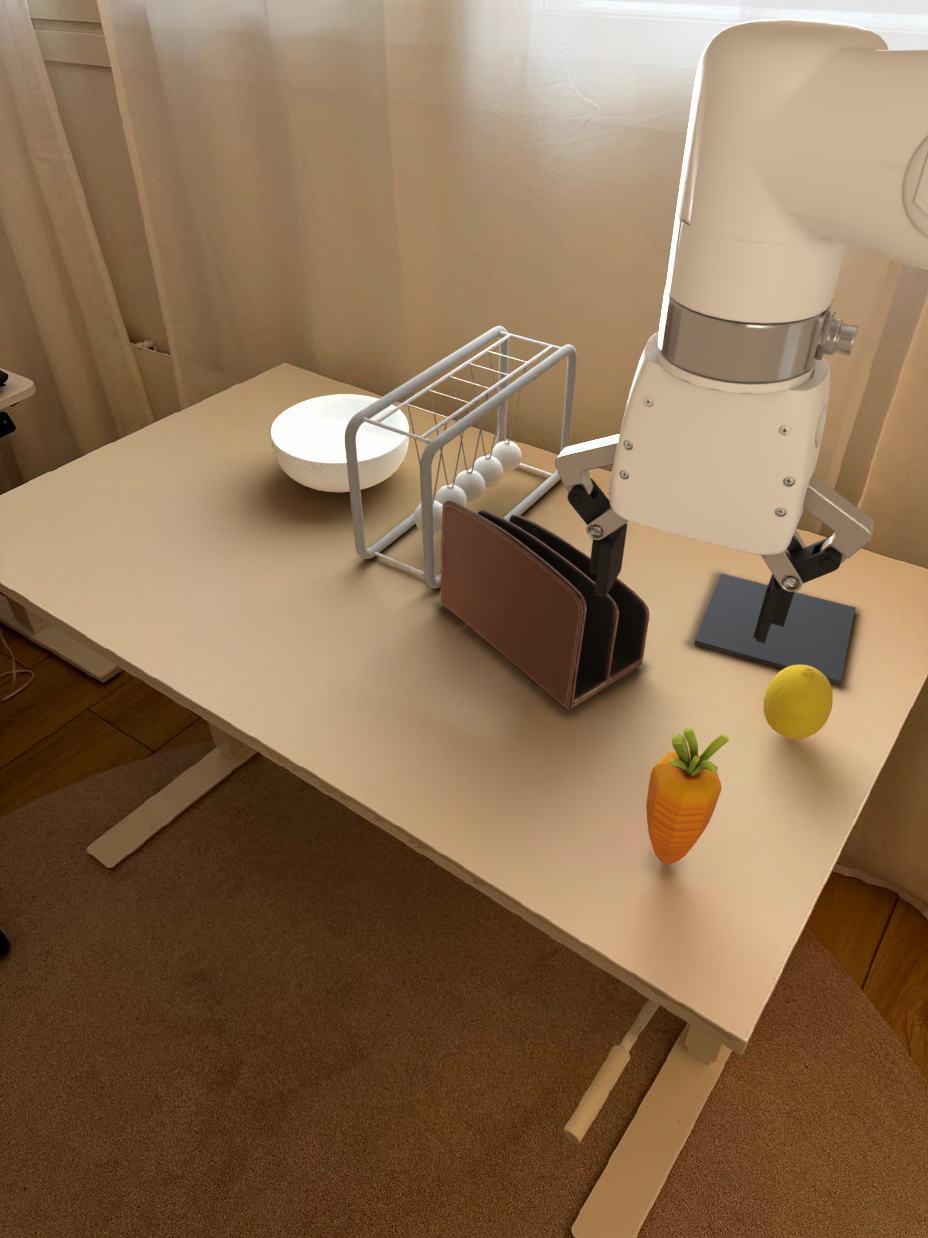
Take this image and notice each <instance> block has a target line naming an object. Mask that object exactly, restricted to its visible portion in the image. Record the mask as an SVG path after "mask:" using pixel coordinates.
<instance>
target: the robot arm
mask: <svg viewBox="0 0 928 1238" xmlns="http://www.w3.org/2000/svg"><path fill="white" fill-rule="evenodd" d="M695 74H696V75H695V80H694V85H693V91H692V97H691V98H692V99H691V105H690V112H689V119H688V120H689V121H688V125H687V126H688V127H687V133H686V140H685V147H684V154H683V160H682V168H681V174H680V175H681V176H680V181H679V190H678V195H677V203H676V210H675V217H674V218H675V219H674V224H673V232H672V240H671V247H670V254H669V259H668V260H669V261H668V269H667V274H666V284H665V288H664V293H663V301H662V308H661V315H660V321H659V329H658V331H657V332H655V333H653V334H652V335H651V336H650V337H649V338H648V340H647V343H646V345H645V347H643V348H644V349H643V351H642V353H641V356H640V358H639V362H638V364H637V366H636V367H637V368H636V371H635V374H634V377H633V380H632V383H631V387H630V390H629V392H628V393H629V394H628V398H627V401H626V405H625V409H624V413H623V418H622V421H621V426H620V430H619V433H618V434H614V435H610V436H607V437H606V436H605V437H602V438H599V439H594V440H590V441H586V442H581V443H577V444H573V445H570V446H569V447H566V448H564V449H563V451H562V452H561V451H560V452H561V453H560V452H559V454H558V456H557V457H556V458H555V460H554V467H555V468H556V470H557V471H558V473H559V476H560V478H561V479H560V481H561V482H562V485H563V488H565V489H566V491H567V501H568V504H570V506H571V507H572V508H573V510H574V511H575V512H576V513H577V514H578V516H579V517H580V518H581V520H582V521H583V522H584V523H585V524H586V525H587V526H586V527H585V529H586V530H585V531H586V534H587V535H588V537H589V538H590V539H592V541H591V551H590V558H591V560H590V569H589V571H590V573H594V574H596V583H595V591H594V594H595V595H599V596H602V597H603V596H604V595H607V594H608V592H609V591H610V589H611V587H612V585H613V584H614V582H615V580H616V578H618V577H619V575H620V573H621V570H622V567H623V559H624V554H625V553H624V552H625V546H626V538H627V530H628V523H629V522H630V523H632V524H635V525H638V526H641V527H645V528H647V529H653V530H656V531H659V532H660V531H661V532H665V533H668V534H672V535H675V536H679V537H683V538H686V539H691V540H695V541H699V542H703V543H706V544H710V545H715V546H718V547H722V548H726V549H730V550H735V551H737V552H742V553H746V554H750V555H757V556H758V555H759V556H761V558H762V559H763V561H764V562H765V565H766V567H768V569H769V570H770V572H771V576H770V579H769V581H768V583H767V585H768V587H767V590H766V593H765V596H764V600H763V604H762V607H761V611H760V614H759V618H758V622H757V625H756V629H755V632H754V636H753V638H756V641H758V642H761V643H764V644H765V641H766V638H767V636H768V633H769V630H770V627H771V624H775V625H778V626H782V627H784V624H785V621H786V618H787V615H788V612H789V608H790V605H791V602H792V598H793V595H794V592H798V591H799V590H801V588H802V587H803V584H806V583H808V582H811V581H814V580H815V579H818V578H821V577H823V576H826V575H828V574H831V573H833V572H836V571H837V570H838V569H839V568H840V566H841V564H843V563H844V562H845V561H846V560H847V559H850V558H851V557H853V556H854V555H855V554H857V552H858V551H860V550H861V549H862V548H864V547H865V546H866V545H867V544H868V543H870V542H871V540H872V536H873V533H874V529H875V521H874V519H873V518H872V517H871V516H869V515H868V514H866V513H865V512H864V511H863V510H861V509H860V508H859V507H858V506H857V505H855V504H854V503H853V502H851V501H849V500H848V499H846V497H844V496H843V495H841V494H840V493H839V492H837V491H836V490H834V489H833V488H832V487H831V486H830V485H828V484H827V483H825V482H824V481H823V480H822V479H820V478H819V477H817V476H816V475H815V472H816V467H817V463H818V460H819V459H818V458H819V454H820V450H821V445H822V441H823V437H824V436H823V435H824V431H825V427H826V426H825V425H826V420H827V415H828V408H829V407H828V406H829V398H830V389H831V388H830V387H831V365H830V362H829V361H828V360H827V359H826V358H825V357H824V355H826V356H833V355H834V354H840V355H845V356H851V354H852V351H853V349H854V345H855V342H856V339H857V336H858V331H859V328H860V326H859V325H857V324H850V323H843V322H844V320H843V319H839V318H836V313H837V312H836V311H832V310H831V309H832V306H833V303H834V294H835V290H836V286H837V283H838V278H839V275H840V271H841V268H842V264H843V260H844V256H845V253H846V249H847V246H850V247H852V248H856V249H858V250H862V251H864V252H868V253H870V254H873V255H876V256H879V257H882V258H885V259H887V260H890V261H894V262H896V263H900V264H903V265H906V266H909V267H913V268H917V269H921V270H927V271H928V49H913V50H912V49H911V50H905V49H903V50H890V49H889V47H888V44H887V42H886V41H885V40H884V39H883V38H882V36H881V35H879V34H878V33H877V32H874V31H872V30H870V29H869V28H866V27H863V26H860V25H855V24H851V23H845V22H839V21H832V20H823V19H812V18H811V19H810V18H809V19H808V18H769V19H759V20H750V21H743V22H738V23H736V24H733V25H730V26H727V27H726V28H722V30H720V31H719V32H718V33H717V34H715V35H714V36H713V37H712V38H711V40H710V41H709V42H708V44H707V45H706V46H705V48H704V49H703V52H702V54H701V56H700V59H699V62H698V64H697V70H696V73H695ZM609 466H612V468H611V474H610V480H609V492H608V497H607V495H606V494H605V493H604V492H603V490H602V489H601V488H600V487H599V485H598V484H597V482H596V481H595V480H594V479H593V478H592V477H590V470H595V469H599V468H605V467H609ZM804 511H806V512H807V513H809V514H810V515H811V516H812V517H814V518H815V519H817V520H818V521H819V522H821V523H822V524H823V525H825V526H826V527H827V528H829V529H830V530H831V531H832V532H833V533H832V535H830V536H828V537H826V538H823V539H821V540H819V541H816V542H814V543H812V544H809V545H806V543H805V541H804V540H803V538H802V536H801V535H800V534H799V532H798V530H797V527H798V525H799V522H800V519H801V518H802V516H803V514H804Z"/></svg>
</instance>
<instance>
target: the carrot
mask: <svg viewBox="0 0 928 1238" xmlns="http://www.w3.org/2000/svg"><path fill="white" fill-rule="evenodd" d="M682 732H683V734H680V733H677V734H673V735H672V738H671V745H672V747H673V750H674V751H667V752H666V753H665V754H664V755H663V756H662V758H661V759H660V760H659V761H658V762H657V763H656V764H655V765H653V767H652V769H651V772H650V775H649V782H648V787H647V788H648V789H647V795H646V804H645V807H646V823H647V831H648V836H649V840H650V843H651V847H652V850H653V852H654V855H655V856H656V857H657V859H658V860H659V861H660V863H662V864H664V865H672V864H674V863H677V862H679V861H680V860H682V859H683V858H685V856H687V854H688V853H689V852H690V851H691V849H692V848H693V847H694V846H695V844H696V843H697V842H698V841H699V839H700V838H701V836H702V835H703V834H704V832H705V830H706V828H707V827H708V825H709V823H710V822H711V819H712V816H713V814H714V812H715V809H716V806H717V804H718V801H719V798H720V794H721V792H722V781H721V780H720V777H719V774H718V769H719V767H718V766H717V765H716V763H714V762H712V761H711V760H709V759H710V758H711V757H712V756H713V755H715V754H716V753H717V751H719V750H720V749H721V748H722V747H724V746H725V745H726V744H727V743H728V742H729V741H730V738H729V737H728V736H727V735H726V734H724V733H722V734H721V735H718V736H717V737H716V738H715V739H714V740H713V741H711V742H710V744H709V745H708V746H707V747H706V748H705V750H704V751H703V752H702V753H701V754H699V743H698V739H697V737H696V735H695V733H694V730H693V728H692V727H685V728H683V729H682Z"/></svg>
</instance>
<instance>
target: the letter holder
mask: <svg viewBox="0 0 928 1238" xmlns="http://www.w3.org/2000/svg"><path fill="white" fill-rule="evenodd" d="M442 510H443V511H442V530H441V541H440V573H441V587H440V594H439V595H440V596H439V598H440V599H439V600H440V604H441V605H442V606H443V607H444V608H446V609H447V610H448V611H450V613H452V614H453V615H454V616H456V617H457V618H458V619H459V620H461V621H462V622H463V623H464V624H466V626H468V628H470V629H471V630H473V631H474V632H475V633H476V634H477V635H478V636H480V637H481V638H482V639H483V640H484V641H485V642H487V643H488V644H489V645H490V646H491V647H492V648H494V650H496V651H497V652H498V653H500V655H502V656H503V657H504V658H505V659H507V660H508V661H509V662H510V663H511V664H512V665H514V667H516V668H517V669H519V670H520V671H521V672H522V673H523V674H524V675H526V676H527V678H529V679H531V680H532V681H533V682H534V683H535V684H536V685H538V686H539V687H540V688H541V689H542V690H543V691H544V692H546V693H547V694H548V695H550V696H551V697H552V698H553V699H554V700H556V701H557V702H558V703H559V704H560V705H561V706H562V707H563V708H565V709H566V711H568V712H571V710H573V709H574V708H575V707H577V706H579V705H580V704H582V703H584V702H586V701H587V700H588V699H590V698H592V697H593V696H595V695H596V694H598V693H600V692H601V691H603V690H605V689H606V688H608V687H609V686H611V685H612V684H614V683H616V682H617V681H619V680H621V679H622V678H624V677H626V676H627V675H629V674H630V673H632V672H633V671H635V670H636V669H638V668H640V667H641V666H642V664H643V660H644V656H645V649H646V643H647V635H648V627H649V622H650V617H651V616H650V609H649V606H648V605H647V603H646V602H645V601H644V600H643V599H642V598H641V596H639V594H637V593H636V592H635V591H634V590H633V589H632V588H631V587H630V586H628V585H627V584H626V583H624V582H623V581H622V580H621V579H620V578H618V577H617V578H616V580H615V582H614V584H613V585H612V587H611V589H610V591H609V592H608V594H607V595H604V596H603V597H602V596H599V595H595V594H594V591H595V583H596V574H594V573H590V571H589V569H590V560H591V556H589V555H587V554H586V553H584V552H583V551H582V550H580V549H578V548H577V547H576V546H574V545H573V544H571V543H570V542H568V541H567V540H565V539H564V538H562V537H560V536H559V535H557V534H556V533H554V532H552V531H551V530H550V529H548V528H546V527H544V526H542V525H540V524H539V523H537V522H535V521H533V520H531V519H529V518H527V517H525V516H522V515H520V516H519V515H515V514H514V515H511V516H510V519H509V521H507V520H506V519H504V517H502V516H500V515H497V514H495V513H493V512H492V511H489V510H487V509H479V510H478V511H477V512H475V511H474V510H472V509H469V508H468V507H467V506H466V507H464V506H462V505H460V504H458V503H456V502H453V501H446V502H445V503H444V505H443V509H442Z"/></svg>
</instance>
